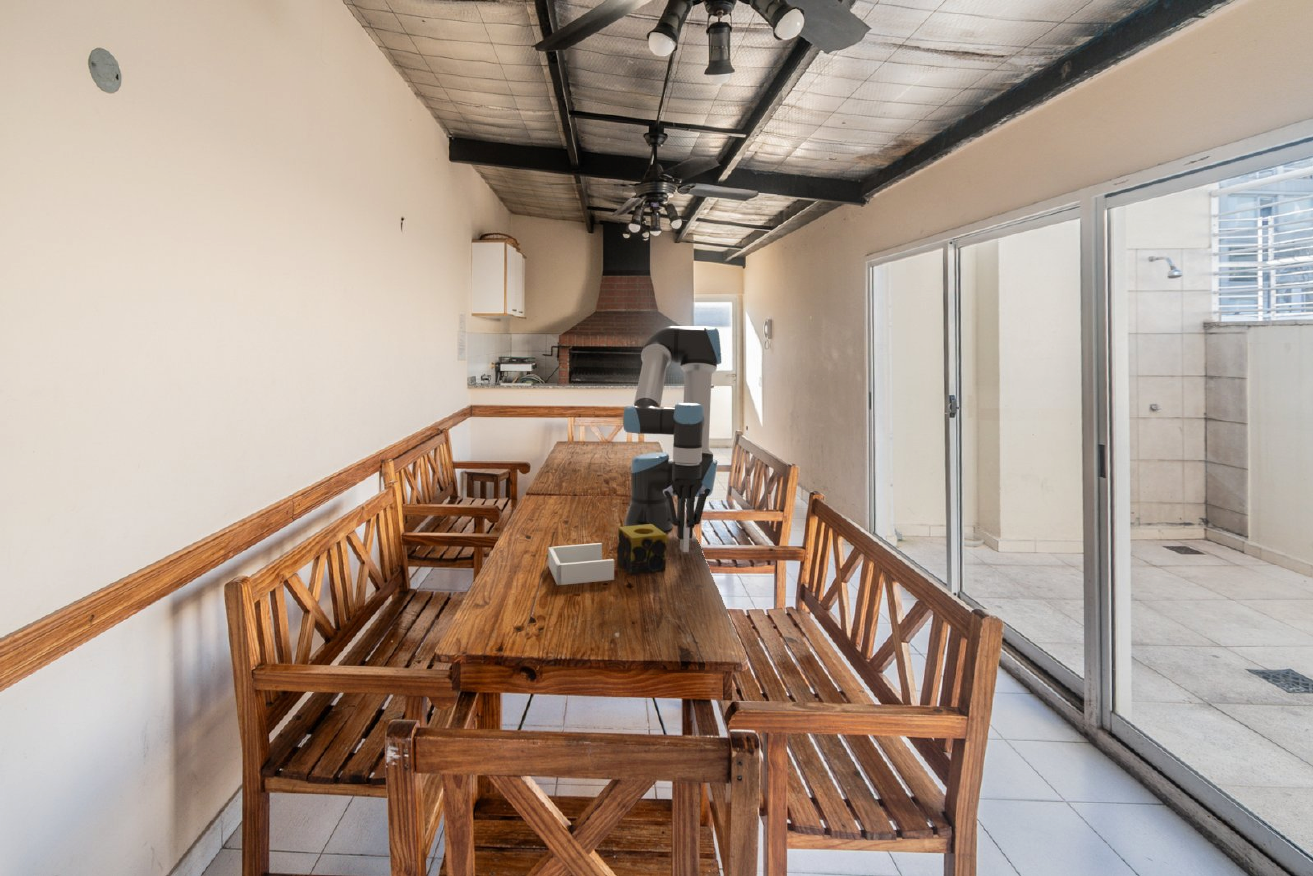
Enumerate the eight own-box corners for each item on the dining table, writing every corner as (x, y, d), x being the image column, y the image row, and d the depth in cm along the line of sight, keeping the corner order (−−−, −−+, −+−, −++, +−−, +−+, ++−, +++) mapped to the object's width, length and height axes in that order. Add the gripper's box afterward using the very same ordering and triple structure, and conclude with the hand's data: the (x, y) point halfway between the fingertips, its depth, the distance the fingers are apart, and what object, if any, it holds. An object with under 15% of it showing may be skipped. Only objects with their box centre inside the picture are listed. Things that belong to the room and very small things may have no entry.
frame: (600, 560, 169) (601, 542, 169) (613, 579, 156) (614, 560, 156) (548, 565, 165) (548, 547, 164) (557, 585, 152) (557, 565, 151)
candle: (616, 563, 168) (616, 526, 167) (651, 558, 172) (652, 523, 171) (629, 576, 159) (630, 537, 158) (666, 571, 163) (667, 533, 162)
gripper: (704, 459, 171) (701, 544, 174) (658, 461, 167) (656, 548, 170) (715, 464, 164) (712, 553, 167) (668, 466, 160) (665, 556, 163)
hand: (684, 550), depth 168 cm, fingers closed
